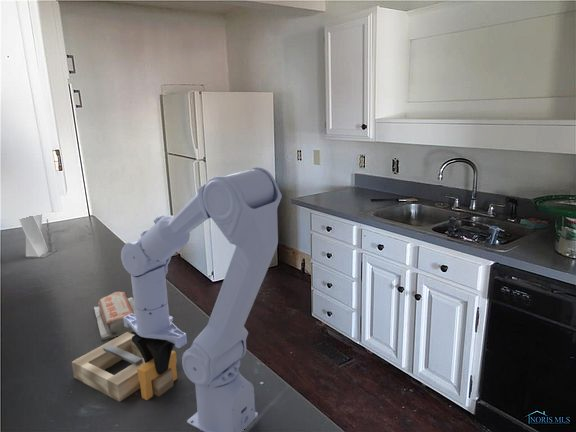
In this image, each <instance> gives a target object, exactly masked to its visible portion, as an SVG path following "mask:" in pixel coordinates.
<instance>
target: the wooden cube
mask: <svg viewBox="0 0 576 432" xmlns="http://www.w3.org/2000/svg"><path fill="white" fill-rule="evenodd" d="M151 382H152V391H153V395H155V396H157V397H160V396H162V395H164V394H165V393H166V392H167V391H169V390H170V389H171V388H173V386H174V381H173V374H172V369H170V368H169V369H168V370H166V371H165V372H164V373H162V374H161V375H159V376H157V377H156V378H154V379H153V380H152V381H151Z"/></svg>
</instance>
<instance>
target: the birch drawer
mask: <svg viewBox="0 0 576 432" xmlns="http://www.w3.org/2000/svg"><path fill="white" fill-rule="evenodd" d="M134 335H135V334H134V333H129V332H126V333H124V334H122V335H120V336H118V337H114V338H112V339H111V340H110V341H107V342H106V343H104V344H102V345H99V346H98V347H96V348H94V349H92V350H90V351H89V352H87V353H86V354H83V355H81V356H80V357H77V358H76V359H74V360H73V361H71V366H72V372H73V377H74V378H75V380H76V379H77V380H78V381H79V382H82V383H83V384H85V385H88V386H89V387H91V388H93V389H94V390H97V391H98V392H100V393H102V394H104V395H106V396H108V397H110V398H111V399H114V400H115V401H117V402H119V403H120V402H122V401H123V400H125V399H126V398H127V397H129V396H131V395H132V394H133V393H135V392H137V391H139V390H140V389H141V387H140V381H139V379H138V371H137V368H139V367H141V366H142V365H144V364H145V361H144V359H143V356H142V354H141V352H140V351H139V349H138V348H137V346H136V345H135V344H134V343H133V342H132V337H133V336H134ZM122 360H123V361H126V362H128V363H130V365H128V366H126V367H125V368H124V369H122V370H120V371H118V372H117V373H115V374H112V373H110V372H108V371H106V369H108V368H110V367H112V366H114V365H115V364H117V363H119V362H120V361H122Z"/></svg>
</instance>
